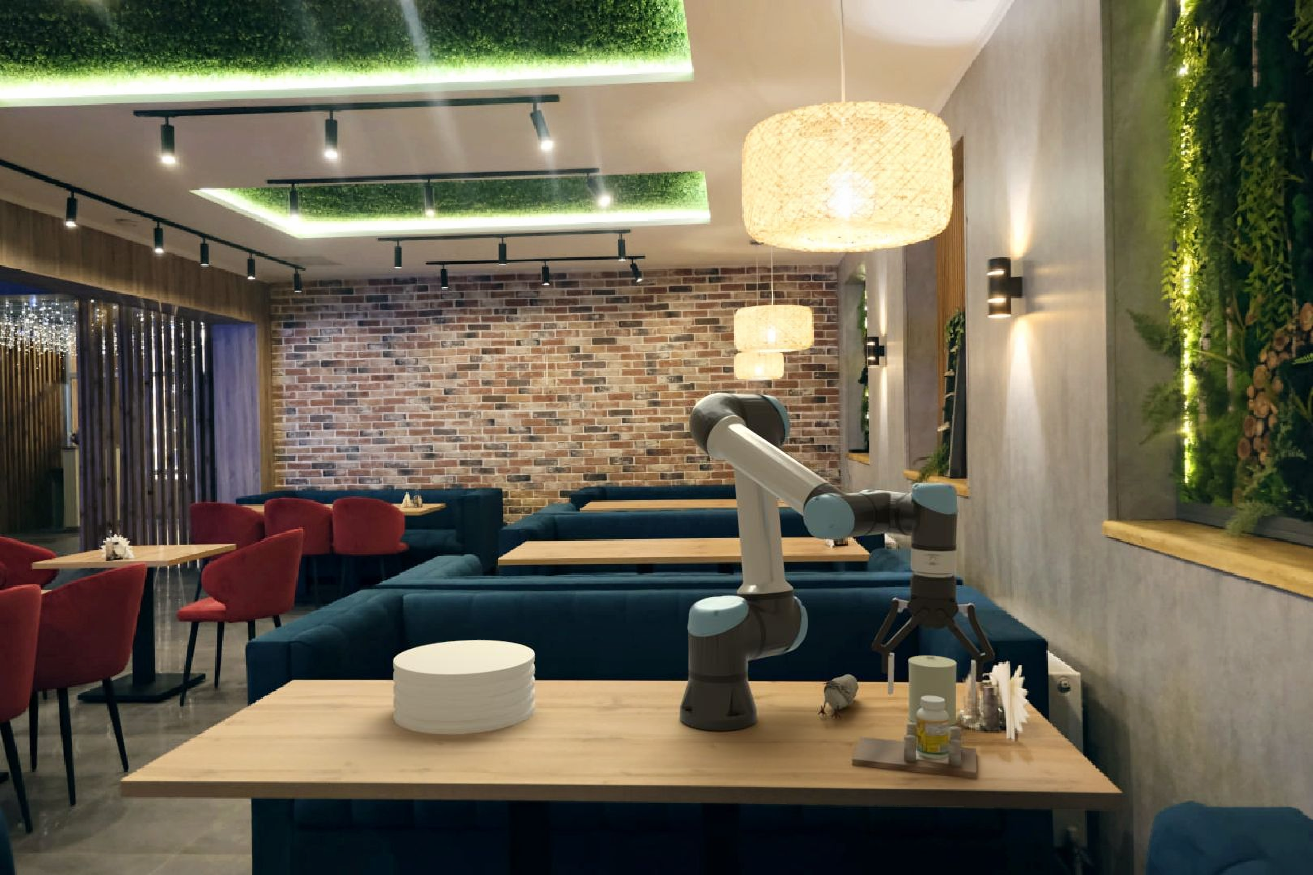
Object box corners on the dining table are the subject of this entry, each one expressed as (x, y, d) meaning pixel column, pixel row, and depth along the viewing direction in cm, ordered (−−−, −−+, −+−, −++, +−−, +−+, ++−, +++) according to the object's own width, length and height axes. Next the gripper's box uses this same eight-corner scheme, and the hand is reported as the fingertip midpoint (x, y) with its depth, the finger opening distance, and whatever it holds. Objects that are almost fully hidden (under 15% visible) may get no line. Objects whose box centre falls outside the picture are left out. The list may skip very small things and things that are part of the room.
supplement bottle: (949, 761, 158) (949, 704, 158) (916, 758, 159) (916, 701, 159) (948, 750, 163) (948, 695, 163) (917, 747, 164) (917, 693, 164)
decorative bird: (865, 701, 197) (865, 665, 197) (841, 722, 183) (841, 684, 183) (840, 698, 200) (840, 662, 199) (814, 718, 186) (814, 680, 185)
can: (951, 713, 188) (951, 653, 188) (961, 727, 179) (961, 665, 179) (904, 711, 189) (904, 652, 189) (912, 726, 180) (912, 664, 180)
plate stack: (472, 744, 171) (471, 681, 171) (363, 720, 185) (362, 662, 185) (562, 704, 195) (561, 649, 195) (459, 686, 209) (459, 635, 209)
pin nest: (852, 764, 160) (852, 735, 159) (859, 742, 171) (859, 714, 171) (976, 778, 153) (976, 748, 153) (975, 754, 165) (975, 725, 164)
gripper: (856, 572, 161) (855, 694, 162) (1011, 581, 153) (1009, 710, 154) (861, 565, 168) (860, 683, 169) (1010, 574, 160) (1007, 697, 161)
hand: (931, 696), depth 161 cm, fingers open, 13 cm apart
